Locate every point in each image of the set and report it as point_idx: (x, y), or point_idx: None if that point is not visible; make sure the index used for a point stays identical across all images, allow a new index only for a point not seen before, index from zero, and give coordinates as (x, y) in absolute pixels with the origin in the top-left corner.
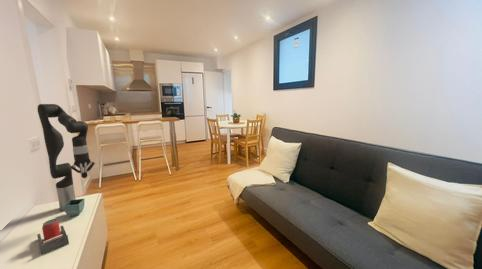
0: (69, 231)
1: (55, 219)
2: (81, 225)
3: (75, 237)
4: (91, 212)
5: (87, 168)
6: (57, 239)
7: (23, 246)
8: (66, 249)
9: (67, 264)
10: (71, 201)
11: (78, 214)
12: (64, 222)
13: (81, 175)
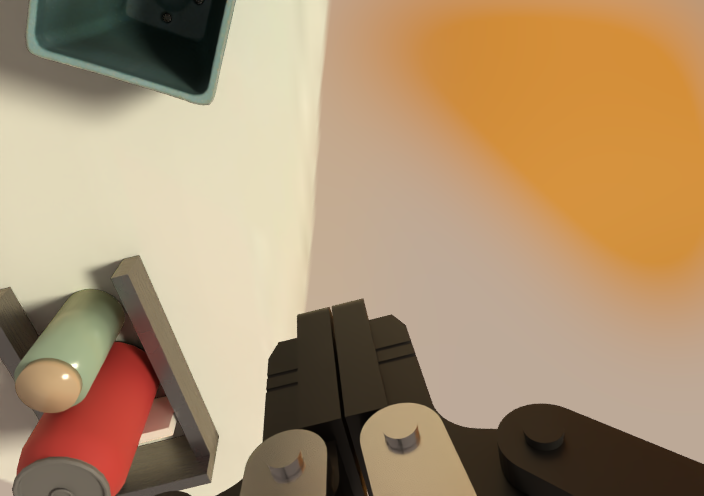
0: (188, 298)
1: (90, 472)
2: (257, 258)
3: (242, 390)
4: (317, 51)
5: (537, 481)
6: (159, 493)
7: None
8: (216, 474)
9: None
10: None
11: (204, 54)
12: (106, 119)
13: (269, 393)
